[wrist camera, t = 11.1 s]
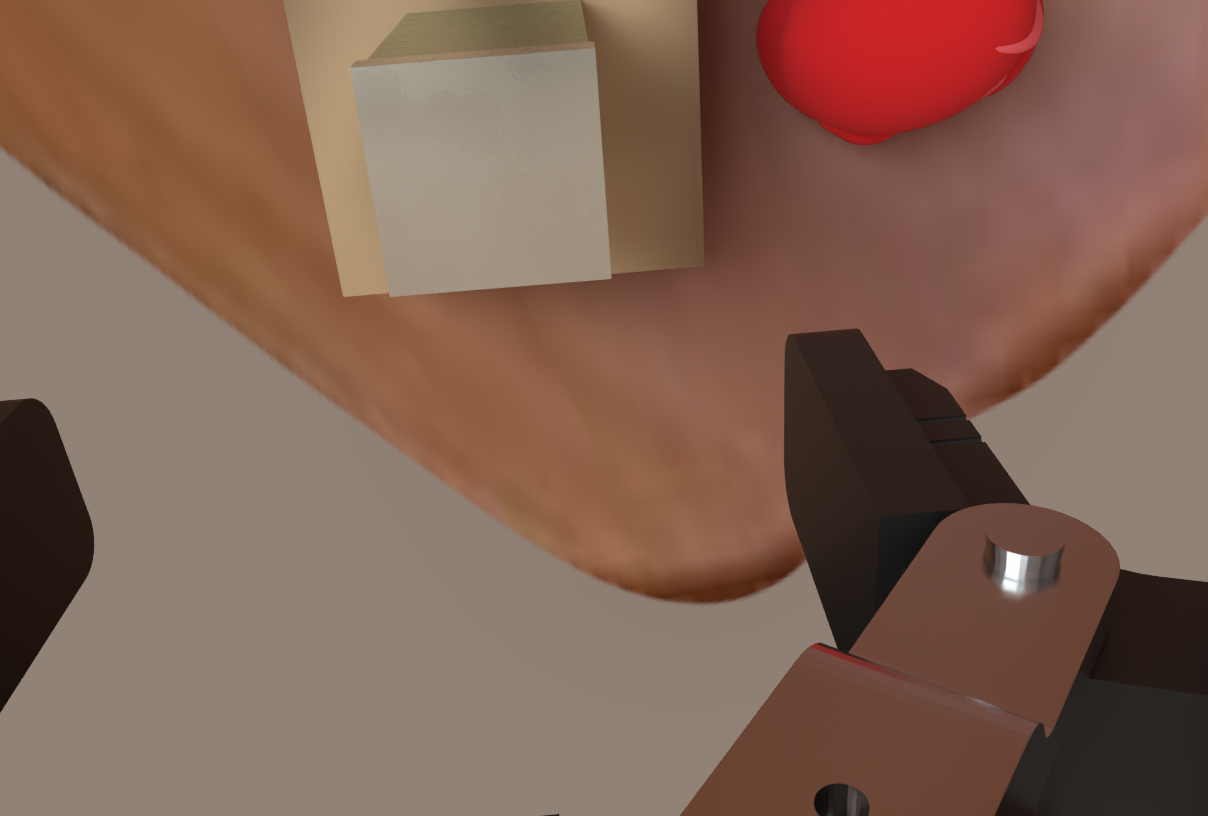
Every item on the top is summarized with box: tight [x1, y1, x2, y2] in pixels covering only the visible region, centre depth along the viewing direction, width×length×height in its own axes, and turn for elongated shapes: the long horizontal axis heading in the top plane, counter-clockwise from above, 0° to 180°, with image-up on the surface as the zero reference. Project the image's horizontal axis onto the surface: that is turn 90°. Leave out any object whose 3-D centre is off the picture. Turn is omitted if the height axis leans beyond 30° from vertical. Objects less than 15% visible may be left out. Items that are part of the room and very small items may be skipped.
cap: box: [757, 0, 1043, 145], centre depth 30 cm, size 8×6×6 cm
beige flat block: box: [283, 0, 705, 297], centre depth 31 cm, size 11×11×5 cm
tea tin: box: [350, 0, 611, 297], centre depth 25 cm, size 5×5×8 cm
